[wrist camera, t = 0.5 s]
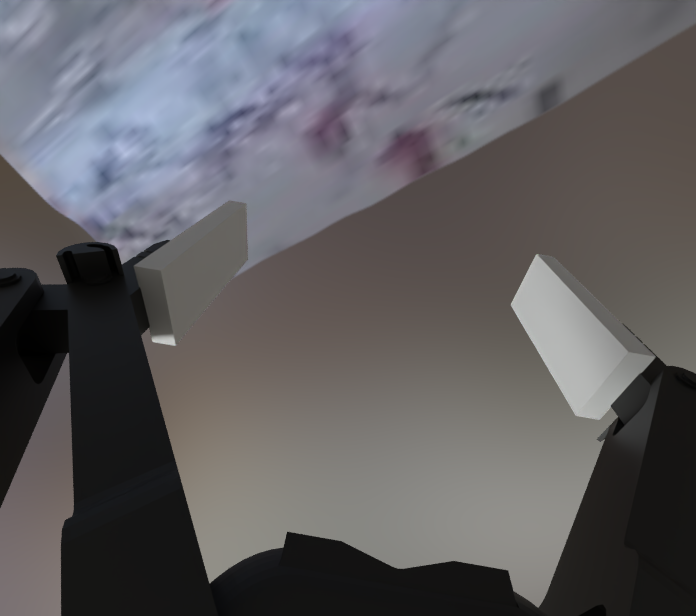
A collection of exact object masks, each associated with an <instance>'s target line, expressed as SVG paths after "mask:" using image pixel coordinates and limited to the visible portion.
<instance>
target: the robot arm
mask: <svg viewBox="0 0 696 616" xmlns="http://www.w3.org/2000/svg"><path fill="white" fill-rule="evenodd" d="M56 257H57V259H58V262H59V264H60V267H61V269H62V272H63V275H64V277H65V280H66V282H67V284H63V285H41V283H40V281H39V278H38V276H37V274H36V273H35V272H34V271H33V270H29V269H26V268H7V269H6V268H1V269H0V508H1V505H2V503H3V501H4V498H5V496H6V494H7V491H8V489H9V487H10V484H11V482H12V479H13V477H14V475H15V473H16V470H17V468H18V465H19V463H20V461H21V459H22V457H23V454H24V452H25V449H26V447H27V445H28V443H29V440H30V438H31V436H32V433H33V431H34V428H35V426H36V424H37V422H38V419H39V417H40V415H41V412H42V410H43V408H44V405H45V403H46V401H47V398H48V396H49V394H50V391H51V389H52V387H53V385H54V382H55V380H56V378H57V375H58V373H59V371H60V368H61V366H62V363H63V361H64V359H65V357H66V354H67V353H69V363H70V392H71V423H72V424H71V425H72V455H73V483H74V484H73V487H74V512H73V516H72V517H70V518H68V519H66V520H65V522H64V526H63V528H62V538H61V616H696V374H695V373H693V372H691V371H688V370H686V369H683V368H679V367H675V366H666V365H665V364H664V363H663V362H662V361H661V360H660V359H659V358H658V357H657V356H656V355H655V354H654V353H653V352H652V351H651V350H650V349H649V348H648V347H647V346H646V345H645V344H642V341H641V340H640V339H639V338H638V337H636V336H634V334H633V333H632V332H631V331H630V330H629V329H628V328H627V327H626V326H625V325H624V324H622V323H621V322H620V321H619V320H618V319H617V318H616V317H615V316H614V315H613V314H612V313H611V312H610V311H608V309H607V308H606V307H604V306H603V305H602V304H601V303H600V302H599V301H598V300H597V299H596V298H595V297H594V296H593V295H592V294H591V293H590V292H589V291H588V290H587V289H586V288H585V287H584V286H583V285H582V284H581V283H580V282H579V281H578V280H577V279H576V278H575V277H574V276H573V275H572V274H571V273H570V272H569V271H567V270H566V269H565V268H564V267H563V266H562V265H561V264H560V263H559V262H558V261H557V260H556V259H555V258H554V257H551V256H546V255H540V254H536V256H535V258H534V260H533V262H532V264H531V266H530V268H529V270H528V272H527V274H526V276H525V278H524V280H523V282H522V284H521V286H520V288H519V290H518V292H517V294H516V296H515V297H514V300H513V302H512V303H511V306H512V308H513V310H514V311H515V313H516V315H517V317H518V318H519V320H520V321H521V323H522V325H523V327H524V328H525V330H526V332H527V333H528V335H529V337H530V338H531V340H532V342H533V344H534V345H535V347H536V349H537V350H538V352H539V354H540V356H541V357H542V359H543V361H544V362H545V364H546V366H547V367H548V369H549V370H550V373H551V374H552V376H553V378H554V379H555V381H556V383H557V384H558V385H559V388H560V389H561V391H562V393H563V395H564V396H565V398H566V399H567V401H568V403H569V405H570V406H571V408H572V410H573V412H574V413H575V415H576V416H581V417H586V418H592V419H598V420H600V419H601V417H602V416H603V415H604V414H605V413H606V412H607V411H608V409H609V408H610V407H612V409H613V410H614V411H615V412H616V414H617V415H618V418H617V419H616V420H615V421H614V422H613V423H612V424H611V425H610V426H609V427H608V428H607V429H606V430H605V431H604V432H603V433H602V434H601V436H600V437H599V438H598V439H597V440H598V441H600V442H601V441H602V440H604V439H605V441H604V444H603V446H602V449H601V451H600V454H599V457H598V459H597V462H596V465H595V467H594V470H593V473H592V475H591V478H590V481H589V483H588V486H587V489H586V491H585V494H584V496H583V499H582V502H581V504H580V507H579V510H578V512H577V515H576V518H575V520H574V523H573V526H572V528H571V531H570V534H569V536H568V539H567V542H566V544H565V547H564V550H563V552H562V555H561V557H560V560H559V563H558V566H557V568H556V571H555V573H554V576H553V579H552V581H551V584H550V586H549V589H548V592H547V594H546V596H545V599H544V600H543V602H542V604H541V605H540V606H539V608H537V607H536V606H535V605H534V604H532V603H531V602H530V601H528V600H527V599H525V598H524V597H522V596H520V595H519V594H517V593H515V592H514V591H513V588H512V584H511V580H510V576H509V573H508V571H507V570H502V569H496V568H491V567H485V566H479V565H474V564H468V563H462V562H457V561H451V562H445V563H438V564H432V565H426V566H419V567H413V568H407V569H397V568H394V567H391V566H390V565H388V564H386V563H383V562H382V561H379V560H378V559H375V558H374V557H371V556H370V555H367V554H365V553H364V552H362V551H359V550H358V549H356V548H354V547H352V546H350V545H348V544H346V543H344V542H342V541H337V540H331V539H325V538H320V537H314V536H308V535H303V534H296V533H291V532H287V535H286V539H285V544H284V548H278V549H271V550H268V551H265V552H261V553H258V554H255V555H253V556H251V557H249V558H247V559H244V560H242V561H241V562H239V563H237V564H236V565H234V566H232V567H231V568H229V569H228V570H226V571H225V572H224V573H222V574H221V575H220V576H218V577H217V578H216V579H215V580H214V581H212V582H211V583H210V584H209V581H208V578H207V574H206V570H205V566H204V563H203V559H202V555H201V552H200V548H199V545H198V541H197V537H196V534H195V530H194V526H193V523H192V519H191V515H190V512H189V508H188V505H187V501H186V497H185V494H184V490H183V486H182V483H181V479H180V475H179V472H178V469H177V465H176V462H175V458H174V454H173V450H172V447H171V443H170V439H169V436H168V432H167V429H166V425H165V421H164V418H163V415H162V410H161V407H160V403H159V399H158V396H157V392H156V388H155V385H154V381H153V378H152V374H151V370H150V367H149V363H148V359H147V356H146V352H145V349H144V345H143V342H142V338H141V335H142V334H143V333H144V332H145V331H146V330H147V329H148V328H149V329H150V333H151V337H152V341H153V342H157V343H162V344H169V345H174V346H176V345H177V344H178V343H179V341H180V340H181V339H182V338H183V337H184V336H185V334H186V333H187V332H188V331H189V329H190V328H191V327H192V326H193V325H194V323H195V322H196V321H197V320H198V319H199V317H200V316H201V315H202V314H203V313H204V311H205V310H206V309H207V308H208V307H209V305H210V304H211V303H212V302H213V301H214V299H215V298H216V297H217V296H218V295H219V293H220V292H221V291H222V290H223V289H224V287H225V286H226V285H227V284H228V283H229V281H230V280H231V279H232V278H233V277H234V275H235V274H236V273H237V272H238V271H239V269H240V268H241V267H242V266H243V265H244V263H245V262H246V261H247V260H248V244H247V212H246V203H241V202H235V201H228V202H226V203H225V204H223V205H222V206H221V207H219V208H218V209H216V210H215V211H213V212H212V213H210V214H209V215H207V216H206V217H204V218H203V219H202V220H200V221H199V222H197V223H196V224H194V225H193V226H191V227H190V228H188V229H187V230H185V231H184V232H182V233H181V234H180V235H178V236H177V237H175V238H174V239H172V240H171V241H170V240H165V241H162V242H159V243H156V244H153V245H152V246H150V247H149V248H147V249H146V250H144V252H141V253H139V254H138V255H137V256H136V257H133V258H132V259H130V260H129V261H127V262H126V263H124V264H122V265H121V261H120V257H119V254H118V250H117V248H116V247H115V246H113V245H111V244H108V243H100V242H88V243H80V244H75V245H71V246H68V247H66V248H64V249H62V250H60V251H59V252H58V254H57V255H56Z"/></svg>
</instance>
